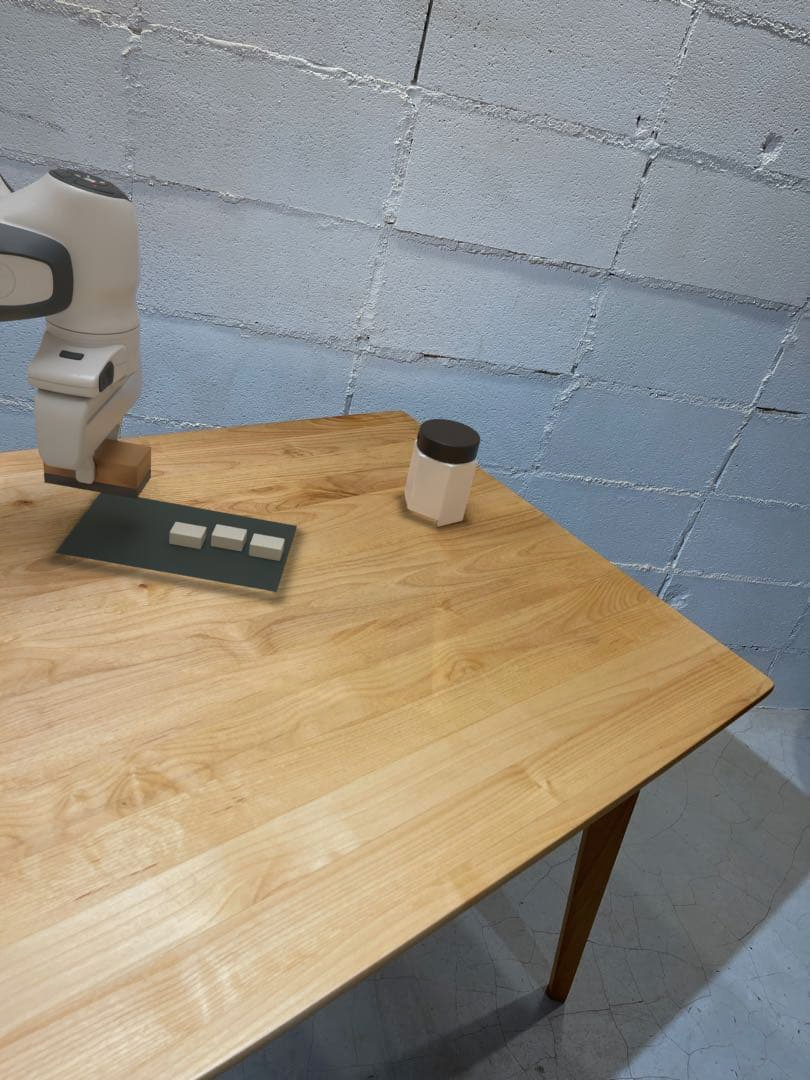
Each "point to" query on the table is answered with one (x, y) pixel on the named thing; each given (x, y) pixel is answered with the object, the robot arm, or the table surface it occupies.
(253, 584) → the chalkboard
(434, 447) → the jar
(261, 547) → the white rectangular block
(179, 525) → the white rectangular block
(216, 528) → the white rectangular block
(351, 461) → the table surface
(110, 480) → the eraser
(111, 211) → the robot arm
